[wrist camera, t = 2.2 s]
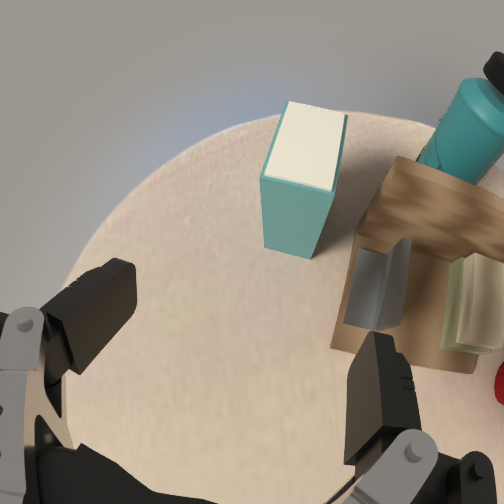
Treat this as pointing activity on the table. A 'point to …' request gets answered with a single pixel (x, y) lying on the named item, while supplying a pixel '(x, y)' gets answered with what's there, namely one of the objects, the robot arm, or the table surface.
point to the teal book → (301, 177)
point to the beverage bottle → (471, 127)
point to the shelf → (427, 270)
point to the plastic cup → (500, 384)
